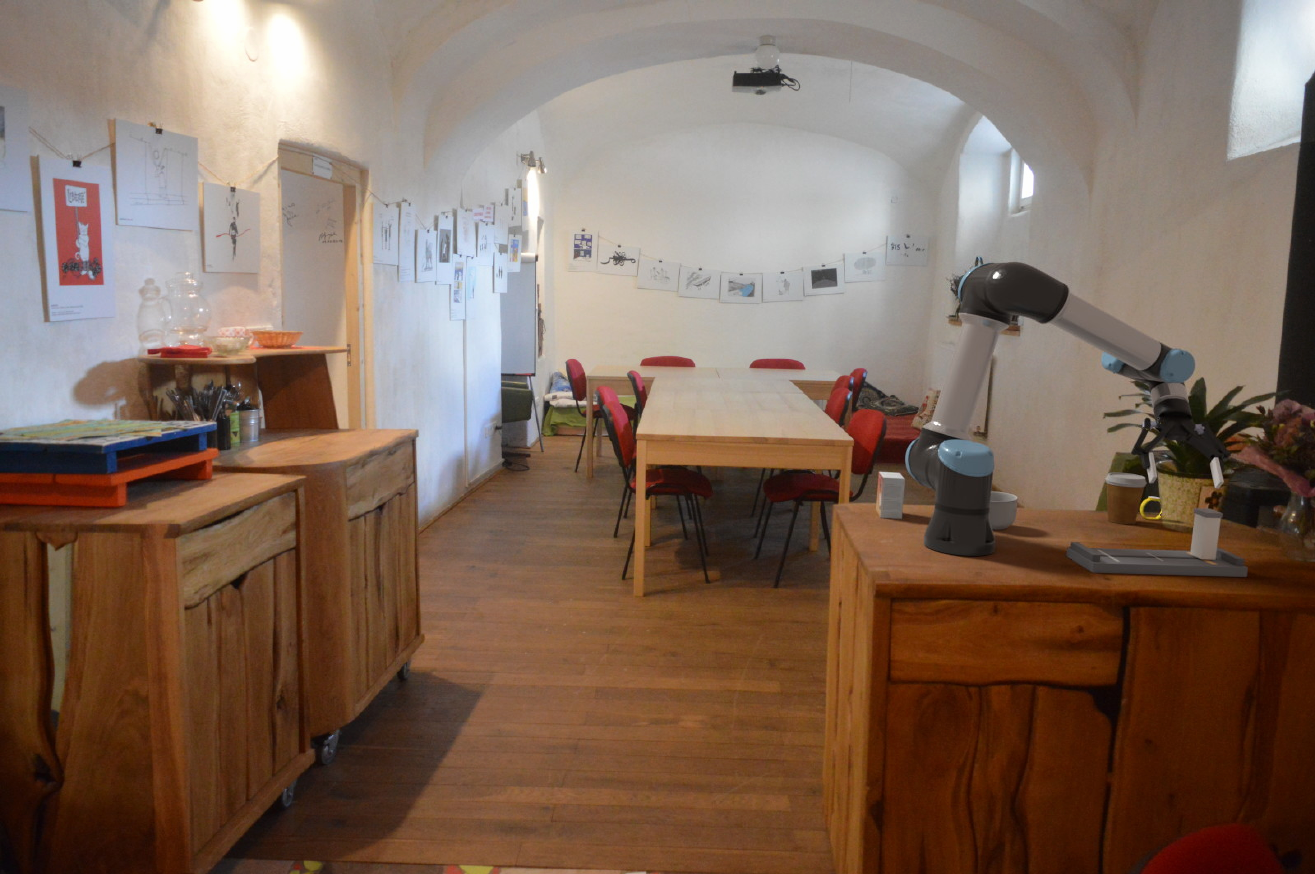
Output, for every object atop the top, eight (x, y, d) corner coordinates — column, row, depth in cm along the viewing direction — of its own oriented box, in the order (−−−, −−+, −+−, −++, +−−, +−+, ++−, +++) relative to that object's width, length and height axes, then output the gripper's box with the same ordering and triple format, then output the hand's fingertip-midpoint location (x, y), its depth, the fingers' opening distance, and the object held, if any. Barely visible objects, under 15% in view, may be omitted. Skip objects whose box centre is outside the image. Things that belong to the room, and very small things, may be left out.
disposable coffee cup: (1138, 519, 238) (1143, 474, 236) (1145, 527, 229) (1150, 480, 227) (1098, 515, 241) (1103, 471, 239) (1103, 523, 232) (1108, 477, 230)
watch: (1159, 519, 240) (1163, 497, 239) (1164, 521, 237) (1169, 499, 236) (1136, 516, 240) (1140, 494, 239) (1142, 519, 237) (1146, 497, 236)
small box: (875, 510, 238) (878, 471, 237) (897, 512, 238) (900, 472, 236) (879, 518, 230) (882, 477, 229) (902, 519, 230) (905, 478, 228)
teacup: (1021, 533, 219) (1024, 500, 218) (976, 531, 220) (979, 499, 218) (1001, 519, 233) (1004, 488, 232) (958, 517, 233) (961, 487, 232)
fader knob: (1200, 559, 191) (1206, 512, 190) (1188, 553, 196) (1194, 508, 194) (1216, 559, 192) (1222, 513, 190) (1204, 554, 196) (1210, 508, 194)
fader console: (1092, 572, 188) (1094, 556, 187) (1066, 556, 200) (1067, 540, 199) (1246, 576, 188) (1248, 560, 188) (1211, 560, 200) (1213, 544, 200)
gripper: (1221, 419, 215) (1239, 496, 203) (1109, 411, 219) (1120, 486, 207) (1235, 400, 209) (1254, 478, 197) (1119, 392, 213) (1132, 468, 201)
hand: (1186, 482), depth 202 cm, fingers open, 13 cm apart
